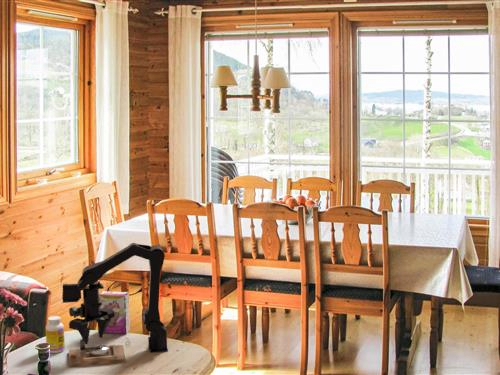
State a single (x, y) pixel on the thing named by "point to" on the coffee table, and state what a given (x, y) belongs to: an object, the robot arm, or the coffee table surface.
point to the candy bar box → (116, 311)
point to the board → (85, 359)
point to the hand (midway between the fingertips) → (93, 341)
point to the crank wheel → (95, 349)
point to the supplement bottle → (55, 334)
